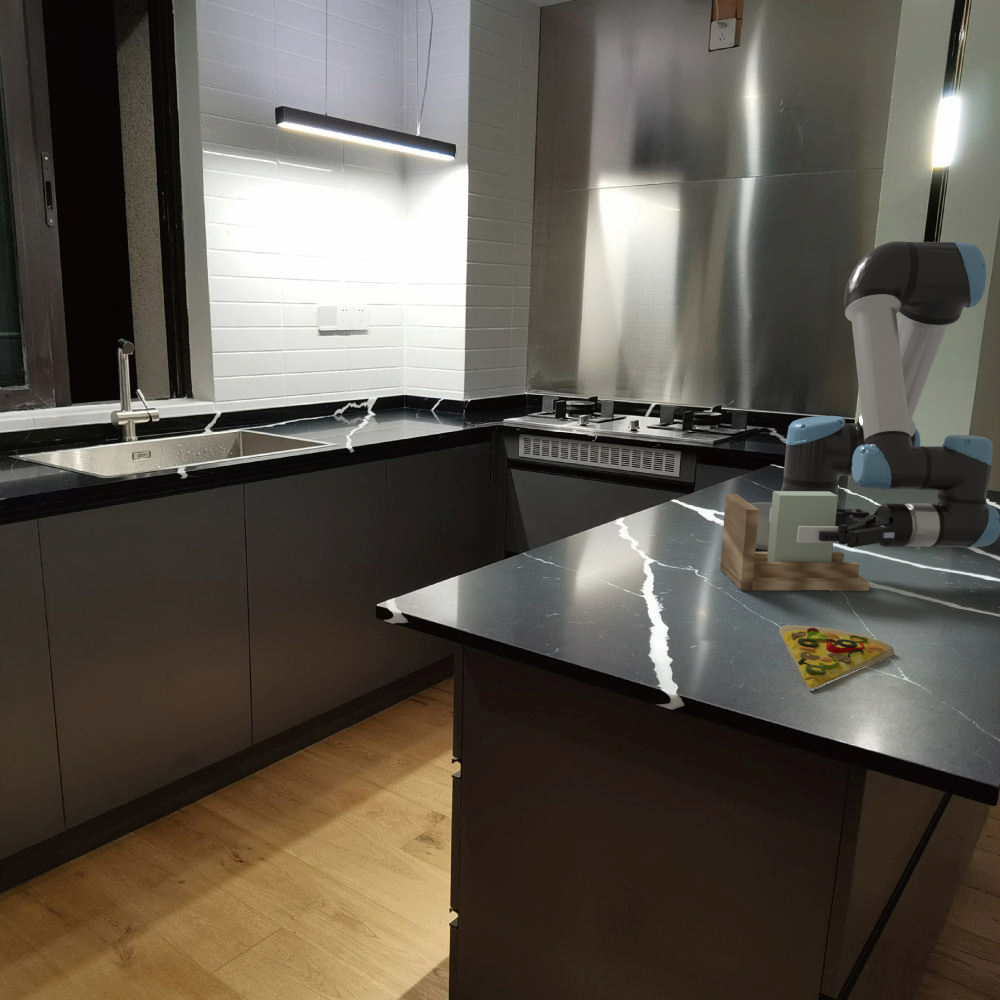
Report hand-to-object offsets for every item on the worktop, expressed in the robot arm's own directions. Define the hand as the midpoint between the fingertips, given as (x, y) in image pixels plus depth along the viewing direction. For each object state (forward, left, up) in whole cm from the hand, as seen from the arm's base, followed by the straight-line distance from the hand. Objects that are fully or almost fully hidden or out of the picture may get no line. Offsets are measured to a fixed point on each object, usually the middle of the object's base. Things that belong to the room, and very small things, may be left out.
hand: (783, 524), depth 150 cm
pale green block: (+1, +3, -9) cm, 9 cm away
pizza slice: (+32, -19, -11) cm, 39 cm away
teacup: (-19, +11, -10) cm, 24 cm away
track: (+1, +2, -10) cm, 10 cm away
